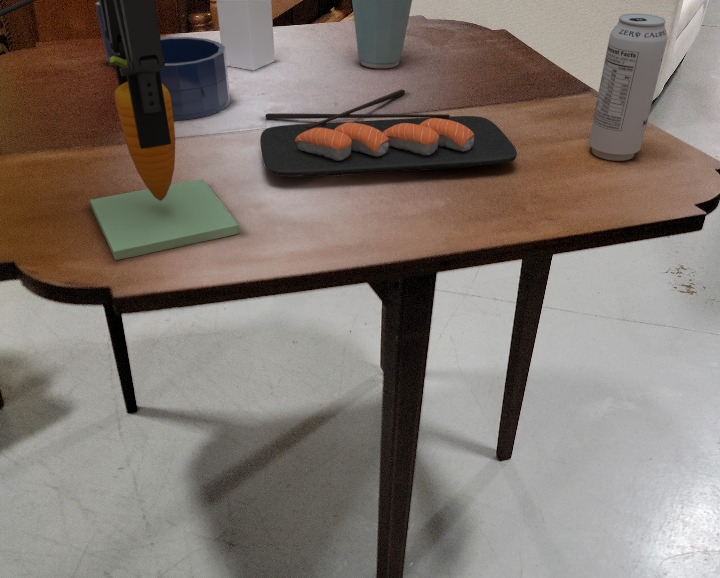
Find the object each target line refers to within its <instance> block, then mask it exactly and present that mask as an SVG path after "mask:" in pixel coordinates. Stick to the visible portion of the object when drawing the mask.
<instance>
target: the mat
mask: <svg viewBox="0 0 720 578" xmlns="http://www.w3.org/2000/svg"><path fill="white" fill-rule="evenodd" d="M89 203H90V208H91V209H92V212H93V214H94V217H95V218H96V221H97V224H98V225H99V227H100V230H101V232H102V234H103V236H104V239H105V241H106V243H107V245H108V247H109V250H110V252H111V254H112V256H113V259H114V261H119V260H124V259H128V258H133V257H137V256H142V255H147V254H152V253H156V252H161V251H167V250H170V249H176V248H179V247H184V246H189V245H195V244H197V243H203V242H207V241H213V240H217V239H220V238H225V237H229V236H230V237H231V236H235V235H239V234H240V224H239V223H238V222H237V221H236V219H235V218H234V217H233V216H232V215H231V213H230V211H229V210H228V209H227V208H226V207H225V205H224V204H223V202H222V201H221V200H220V199H219V197H218V196H217V195H216V194H215V192H214V191H213V190H212V188H211V187H210V186H209V184H208V183H207V182H206V181H205V179H204V178H198V179H194V180H188V181H183V182H182V181H181V182H177V183H171V184H170V187H169V190H168V192H167V195H166V196H165V197H164V199H163V200H161V201H160V200H158V199H156V198H155V197H154V196H153V194H152V193H151V192H150V190H149V189H148V188H146V189H140V190H139V189H138V190H135V191H129V192H124V193H118V194H113V195H108V196H102V197H97V198H91V199H89Z"/></svg>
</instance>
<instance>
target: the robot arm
mask: <svg viewBox="0 0 720 578" xmlns="http://www.w3.org/2000/svg"><path fill="white" fill-rule="evenodd" d="M36 1H37V0H21V1H19V2H17V3H14V4H13V5H10V6H8V7H5V8H2V9H1V10H0V18H2V17H3V16H5V15H7V14H10V13H12V12H14V11H16V10H19V9H20V8H23V7H26V6H27V5H29V4H32V3H34V2H36ZM98 2H99V4H100V9H101V14H102V19H103V24H104V30H105V31H104V35H105V37H106V39H107V41H110V49H112V52H113V53H118V55H116V57H119V58H121V59H123V60H127V68H121V67H120V66H118V65H115V66H114V68H115V73H116V79H117V83H118V86H120V85H122V84H123V83H125V82H127V81H128V86H129V92H130V97H131V102H132V108H133V113H134V118H135V124H136V129H137V134H138V140H139V145H140V147H141V149H144V148H150V147H156V146H162V145H168V144H171V139H170V133H169V126H168V120H167V114H166V107H165V101H164V95H163V89H162V82H161V76H160V70H161V69H164V68H165V60H164V58H163V52H162V45H161V39H160V38H161V33H160V27H159V20H158V14H157V7H156V1H155V0H98Z"/></svg>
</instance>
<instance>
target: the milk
mask: <svg viewBox="0 0 720 578" xmlns="http://www.w3.org/2000/svg"><path fill="white" fill-rule="evenodd" d="M215 3H216V9H217V10H216V11H217V20H218V29H219V39H220V43H221V44H222V45H223V46H224V47H225V51H226V61H227V67H232V68H238V69H243V70H249V71H256V70H258V69H260V68H262V67H265V66H267V65H270V64H273V63H274V62H275V61H276V58H275V57H276V56H275V40H274V25H273V23H274V22H273V10H272V9H273V8H272V0H215Z"/></svg>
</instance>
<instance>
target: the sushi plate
mask: <svg viewBox="0 0 720 578" xmlns="http://www.w3.org/2000/svg"><path fill="white" fill-rule="evenodd" d="M405 93H406V90H405V89H398V90H396V91H394V92H391V93H388V94H386V95H383V96H381V97H378V98H375V99H373V100H371V101H368V102H366V103H364V104H361V105H359V106H356V107H354V108H352V109H348V110H346V111H344V112H341V113H291V112H290V113H284V112H283V113H281V112H280V113H279V112H278V113H277V112H276V113H271V112H270V113H266V114H265V119H266V120H302V119H303V120H305V119H306V120H309V119H312V120H313V119H315V120H316V119H319V120H320V119H323V120H320V121H318V122H314V123H299V124H284V125H277V126H271V127H268V128H265V129H264V130H262V132H261V134H260V139H259V141H260V148H261V149H260V151H261V158H262V162H263V166H264V168H265V169H266V170H267V172H268V173H270V174H272V175H274V176H279V177H281V176H282V177H307V178H309V177H312V178H313V177H333V176H334V177H335V176H352V175H368V174H383V173H384V174H385V173H398V172H399V173H400V172H416V171H417V172H418V171H433V170H448V169H450V170H451V169H465V168H472V167H473V168H474V167H479V166H488V165H498V164H506V163H509V162H513V161H515V160H516V158H517V157H518V152H517V149H516V147H515V145H514V144H513V143H512V142H511V140H510V139H509V138H508V136H506V134H505V132H503V131H502V130H501V128H500V127H498V126H497V125H496V124H495V123H494V122H493V121H492V120H490V119H489V118H486V117H483V116H476V115H475V116H474V115H453V116H452V115H451V114H448V113H446V114H443V113H442V114H441V113H439V114H436V113H435V114H433V113H425V114H424V113H421V114H420V113H418V114H417V113H416V114H415V113H411V114H410V113H409V114H408V113H406V114H405V113H402V114H401V113H356V112H358V111H362V110H364V109H367V108H370V107H374V106H376V105H379V104H382V103H384V102H386V101H389V100H392V99H395V98H398V97H401V96H403V95H405ZM382 118H383V119H382ZM384 118H386V119H384ZM387 118H388V119H387ZM389 118H391V119H389ZM392 118H393V119H392ZM336 119H372V120H355V121H354V120H353V121H335V122H334V120H336ZM373 119H375V120H373ZM331 121H333V122H331Z"/></svg>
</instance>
